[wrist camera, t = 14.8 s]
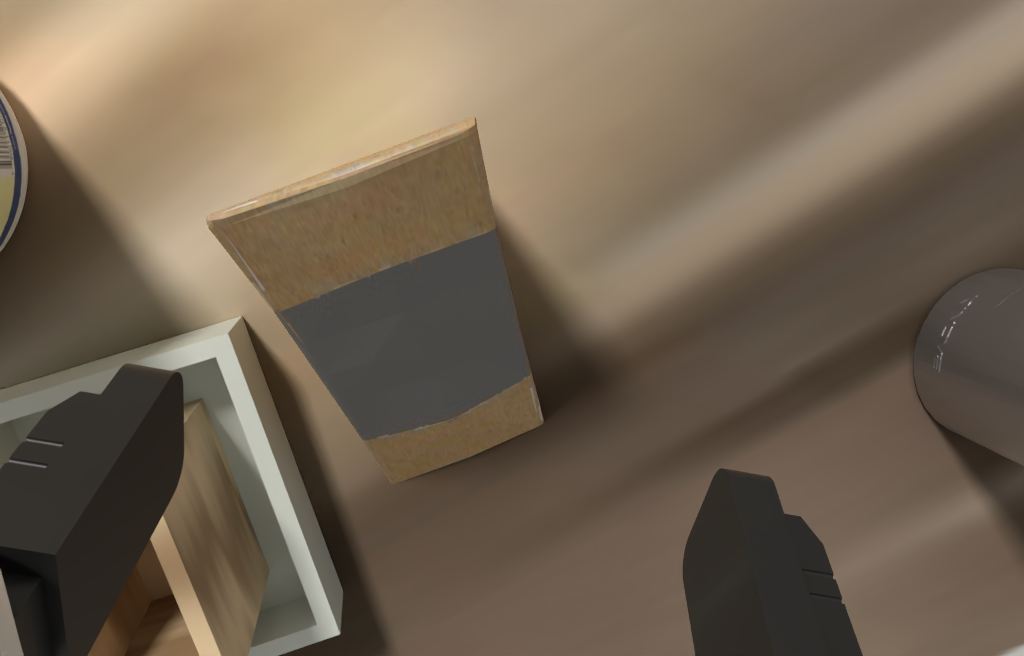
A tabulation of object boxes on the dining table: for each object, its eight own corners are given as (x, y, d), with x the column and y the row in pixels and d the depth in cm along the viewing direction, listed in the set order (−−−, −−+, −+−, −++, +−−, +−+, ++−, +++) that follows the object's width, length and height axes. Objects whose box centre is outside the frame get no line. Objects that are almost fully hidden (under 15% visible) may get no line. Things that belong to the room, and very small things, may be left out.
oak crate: (269, 570, 42) (237, 696, 32) (145, 611, 41) (75, 752, 31) (202, 397, 40) (146, 476, 30) (71, 439, 39) (-29, 533, 29)
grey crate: (343, 591, 43) (340, 634, 39) (111, 669, 42) (85, 721, 38) (242, 315, 40) (227, 333, 36) (-12, 393, 39) (-55, 420, 35)
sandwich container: (387, 490, 43) (395, 662, 28) (261, 194, 39) (195, 219, 25) (549, 425, 44) (638, 561, 29) (439, 128, 40) (478, 114, 25)
